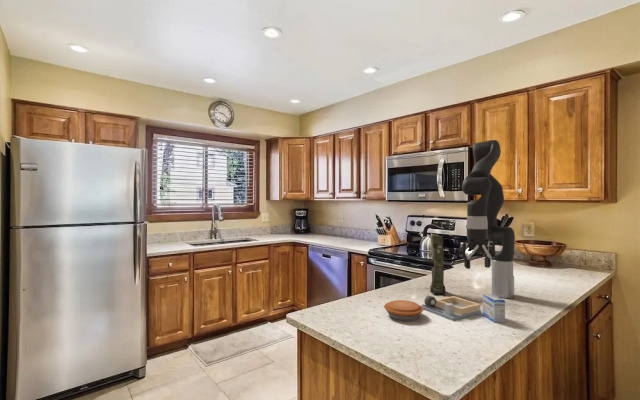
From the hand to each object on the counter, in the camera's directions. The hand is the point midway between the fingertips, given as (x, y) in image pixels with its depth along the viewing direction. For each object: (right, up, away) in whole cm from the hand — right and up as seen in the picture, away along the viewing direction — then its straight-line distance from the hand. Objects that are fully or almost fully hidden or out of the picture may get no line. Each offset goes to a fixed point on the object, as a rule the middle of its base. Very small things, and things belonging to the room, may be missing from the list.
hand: (477, 268), depth 131 cm
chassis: (-8, -20, +8) cm, 22 cm away
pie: (-29, -20, +2) cm, 35 cm away
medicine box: (+5, -20, -2) cm, 20 cm away
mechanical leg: (-3, -20, +35) cm, 40 cm away
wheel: (-16, -18, +9) cm, 26 cm away
